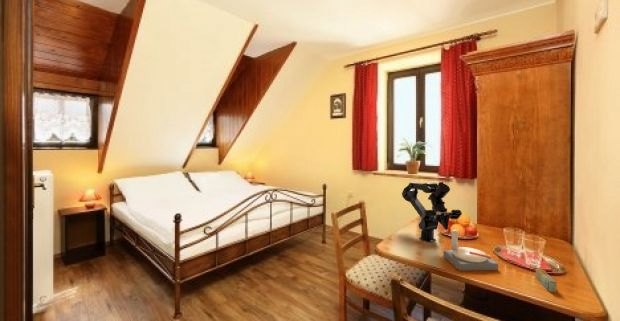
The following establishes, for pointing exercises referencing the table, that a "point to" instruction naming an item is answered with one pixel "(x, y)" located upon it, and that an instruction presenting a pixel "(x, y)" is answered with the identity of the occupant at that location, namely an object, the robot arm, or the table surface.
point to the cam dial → (466, 251)
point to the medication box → (545, 280)
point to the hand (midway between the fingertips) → (446, 229)
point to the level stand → (470, 263)
